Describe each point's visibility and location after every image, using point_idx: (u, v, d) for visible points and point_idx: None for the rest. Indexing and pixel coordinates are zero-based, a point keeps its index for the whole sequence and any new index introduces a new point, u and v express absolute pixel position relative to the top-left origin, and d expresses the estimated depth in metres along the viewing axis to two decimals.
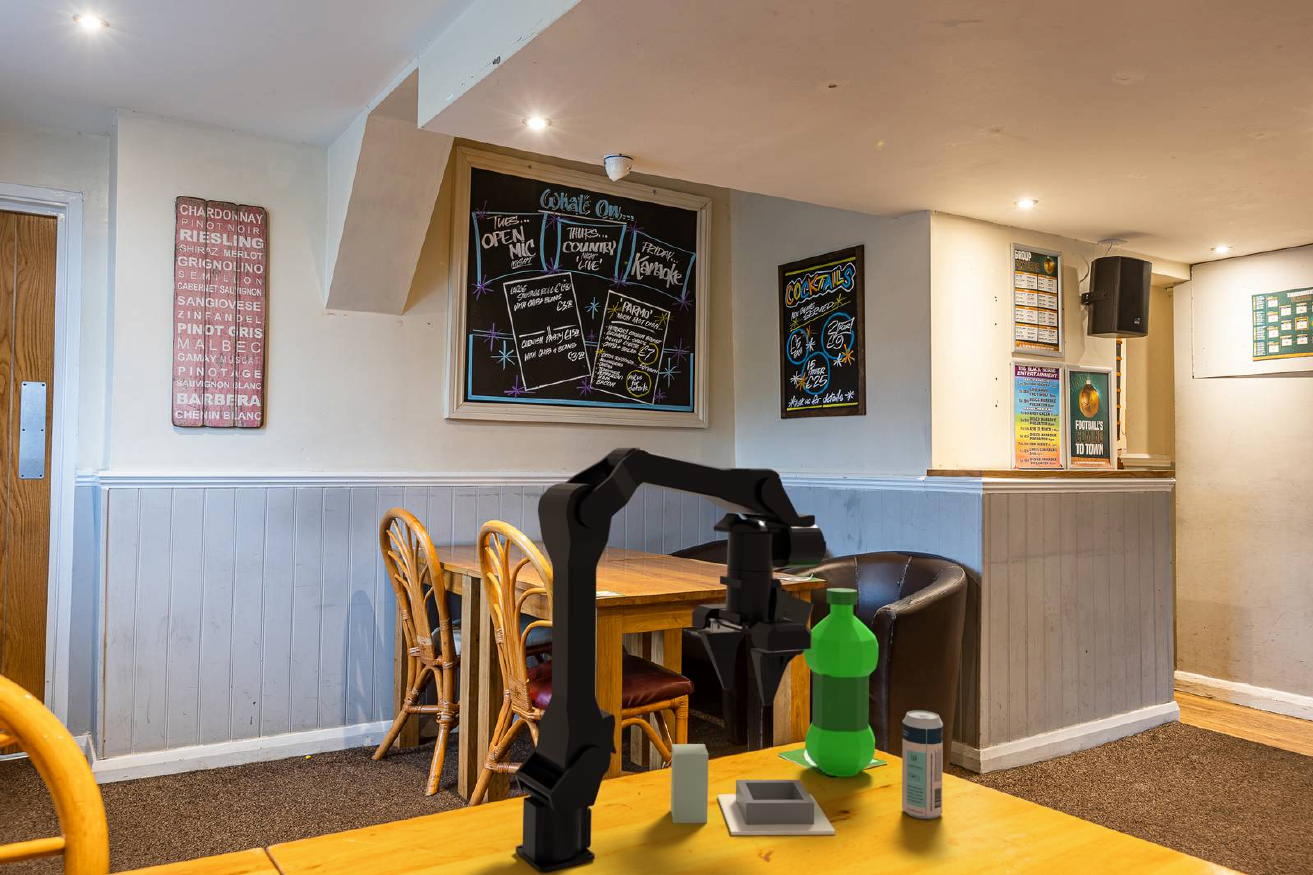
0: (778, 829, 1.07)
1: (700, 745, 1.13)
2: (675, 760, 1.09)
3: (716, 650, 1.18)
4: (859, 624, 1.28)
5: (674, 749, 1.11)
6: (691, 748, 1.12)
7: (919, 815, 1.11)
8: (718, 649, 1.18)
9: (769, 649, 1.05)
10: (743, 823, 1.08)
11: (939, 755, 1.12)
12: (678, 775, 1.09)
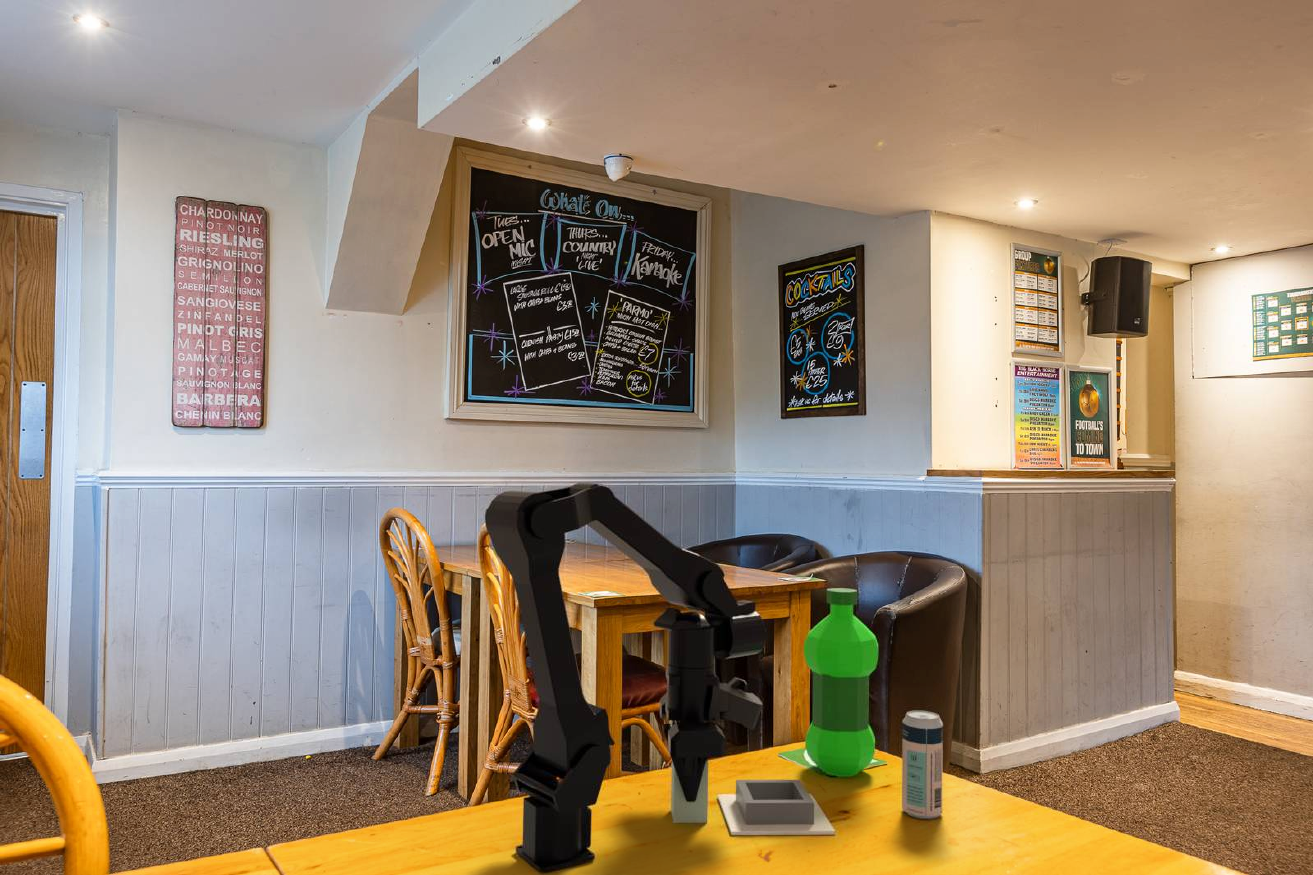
0: (778, 829, 1.07)
1: None
2: None
3: None
4: (859, 624, 1.28)
5: None
6: None
7: (919, 815, 1.11)
8: None
9: (672, 754, 1.03)
10: (743, 823, 1.08)
11: (939, 755, 1.12)
12: None
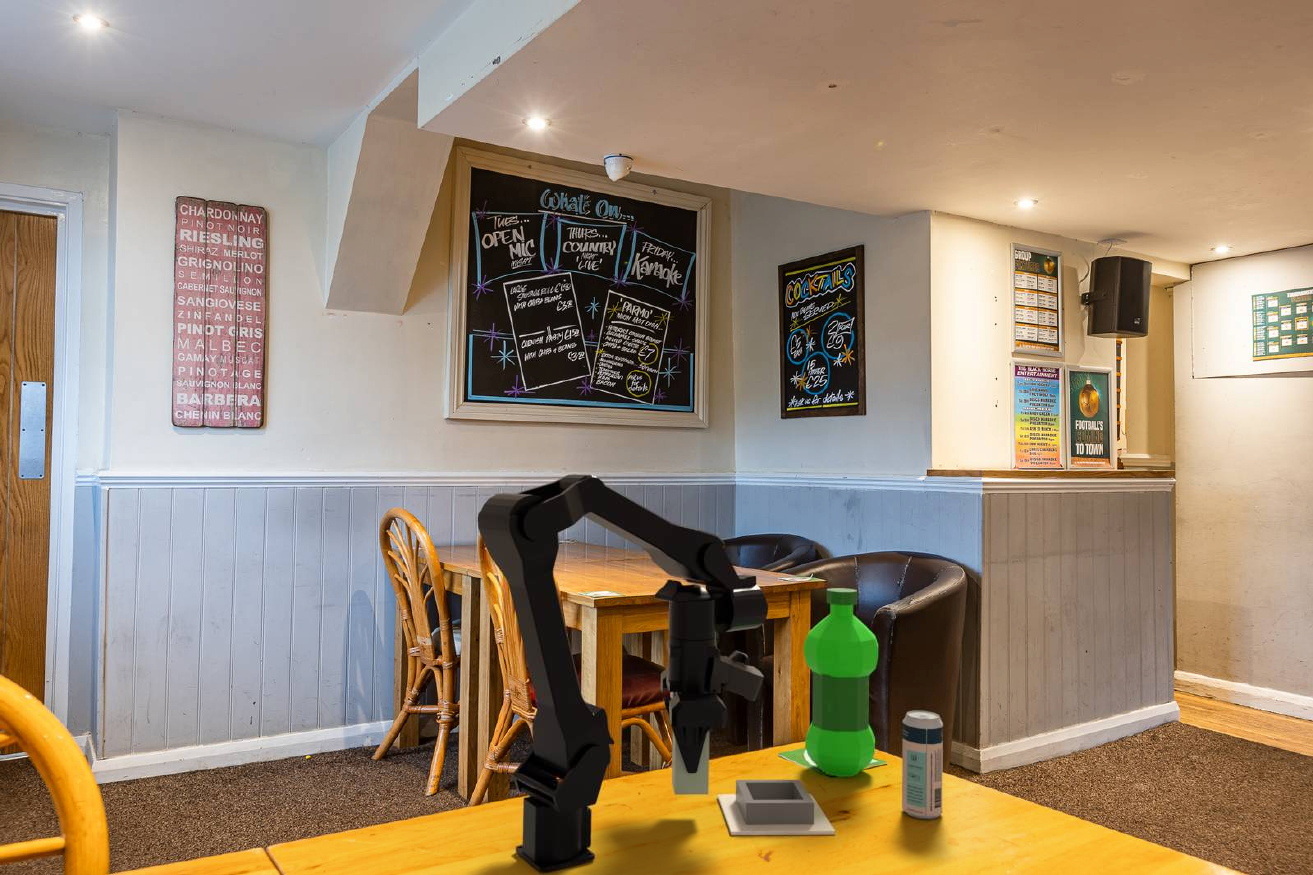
0: (778, 829, 1.07)
1: None
2: None
3: None
4: (859, 624, 1.28)
5: None
6: None
7: (919, 815, 1.11)
8: None
9: (673, 724, 1.03)
10: (743, 823, 1.08)
11: (939, 755, 1.12)
12: None
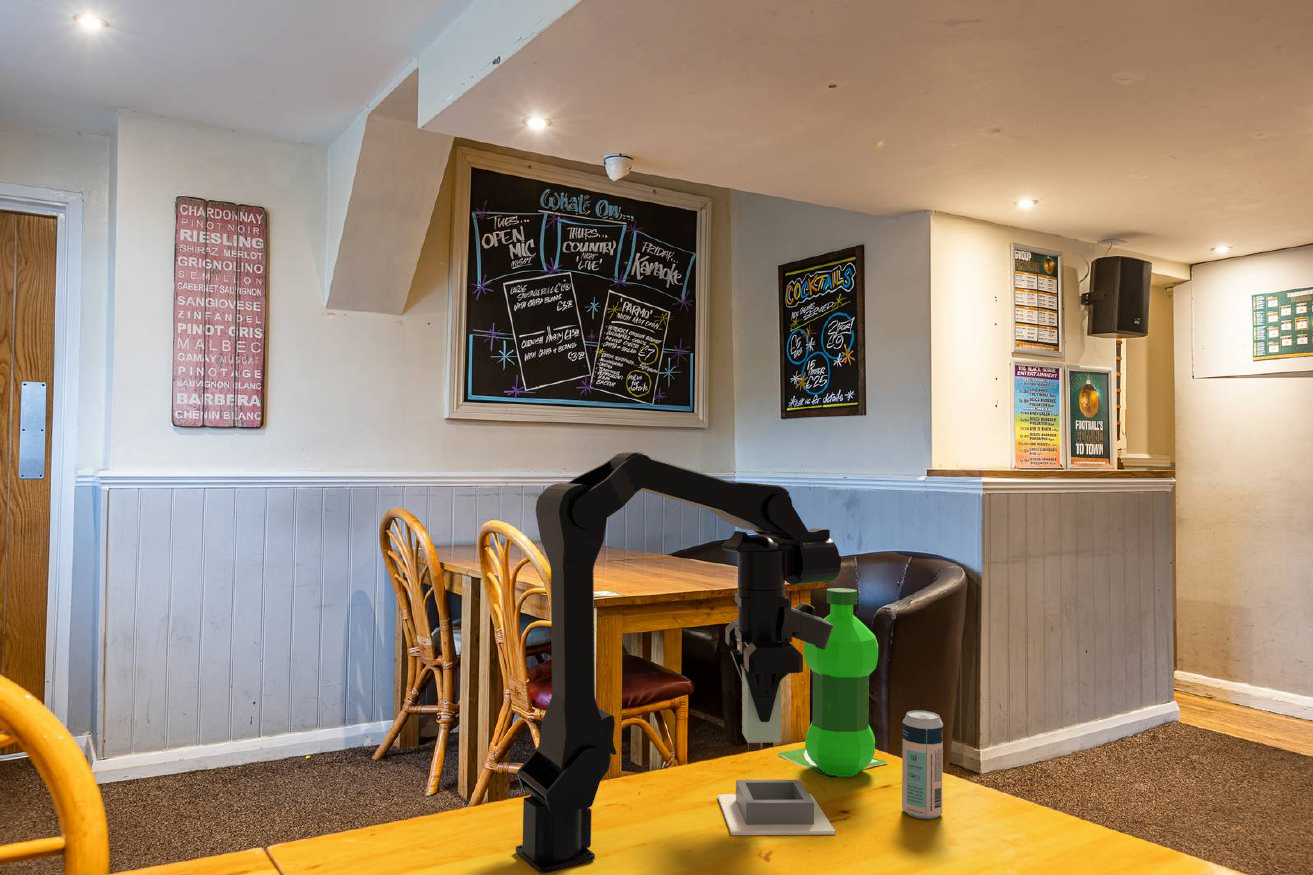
0: (778, 829, 1.07)
1: None
2: None
3: None
4: (859, 624, 1.28)
5: None
6: None
7: (919, 815, 1.11)
8: None
9: (750, 671, 1.04)
10: (743, 823, 1.08)
11: (939, 755, 1.12)
12: None
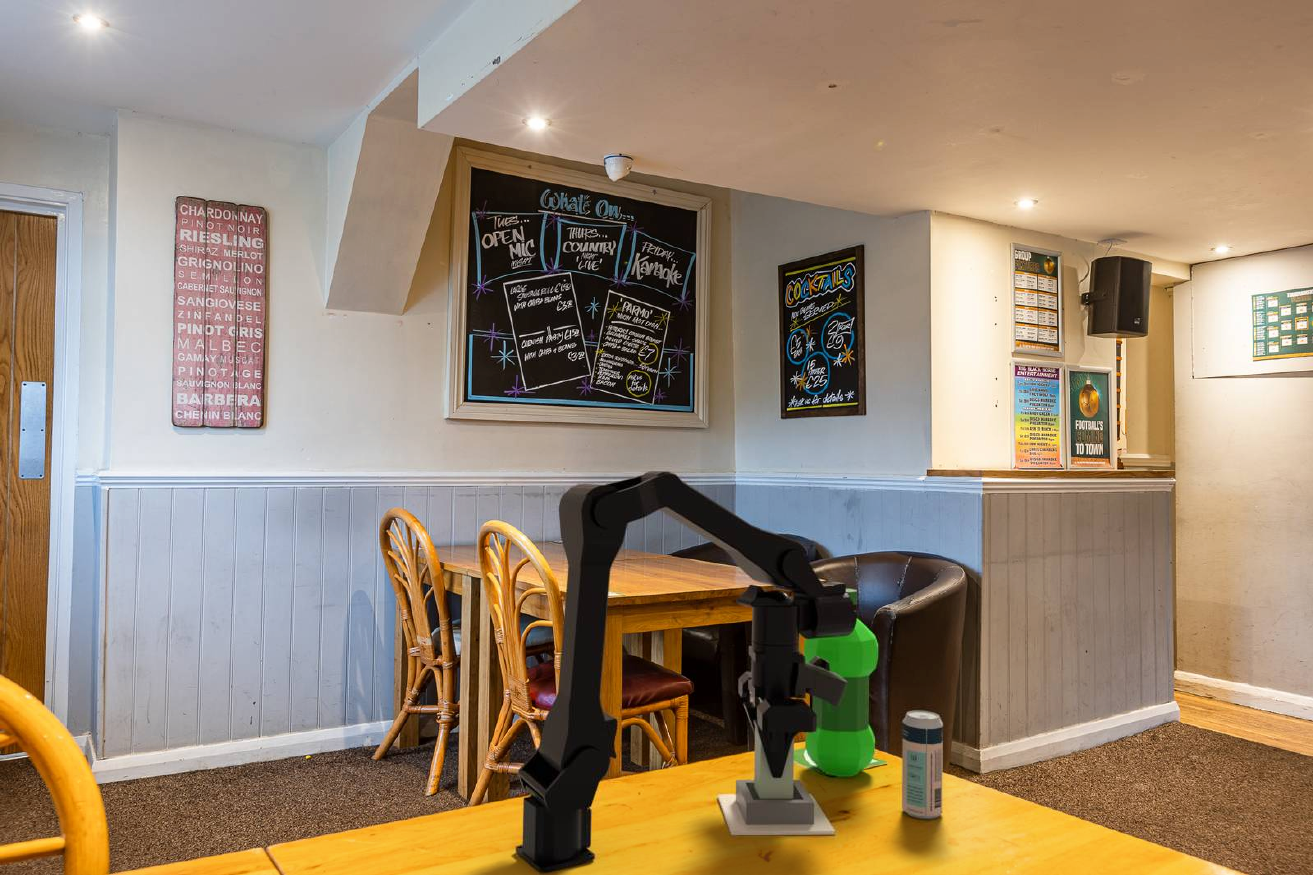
0: (778, 829, 1.07)
1: None
2: None
3: None
4: (859, 624, 1.28)
5: None
6: None
7: (919, 815, 1.11)
8: None
9: (763, 729, 1.03)
10: (743, 823, 1.08)
11: (939, 755, 1.12)
12: None
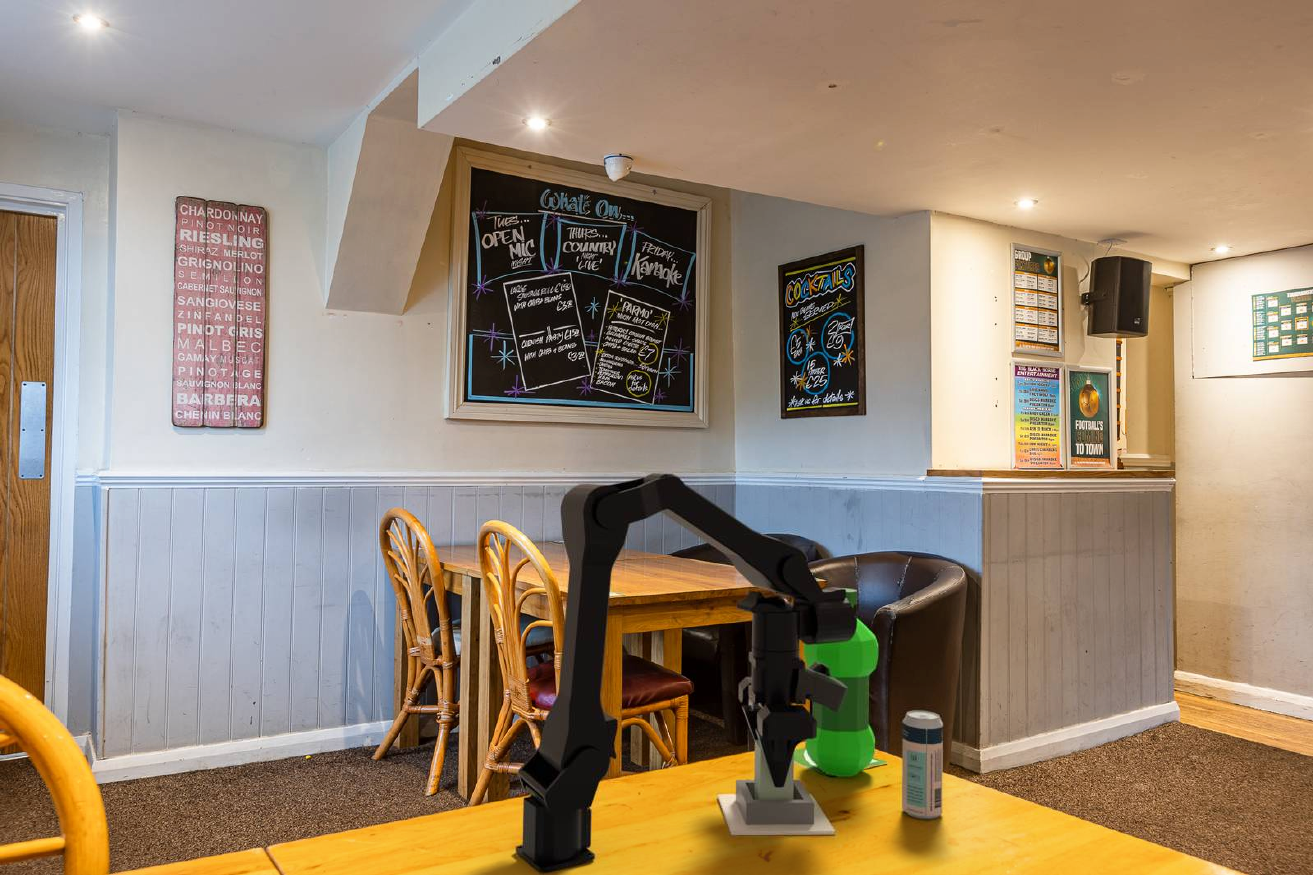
0: (778, 829, 1.07)
1: None
2: (761, 756, 1.10)
3: (756, 728, 1.16)
4: (859, 624, 1.28)
5: (759, 745, 1.12)
6: None
7: (919, 815, 1.11)
8: None
9: (764, 736, 1.03)
10: (743, 823, 1.08)
11: (939, 755, 1.12)
12: (764, 770, 1.10)
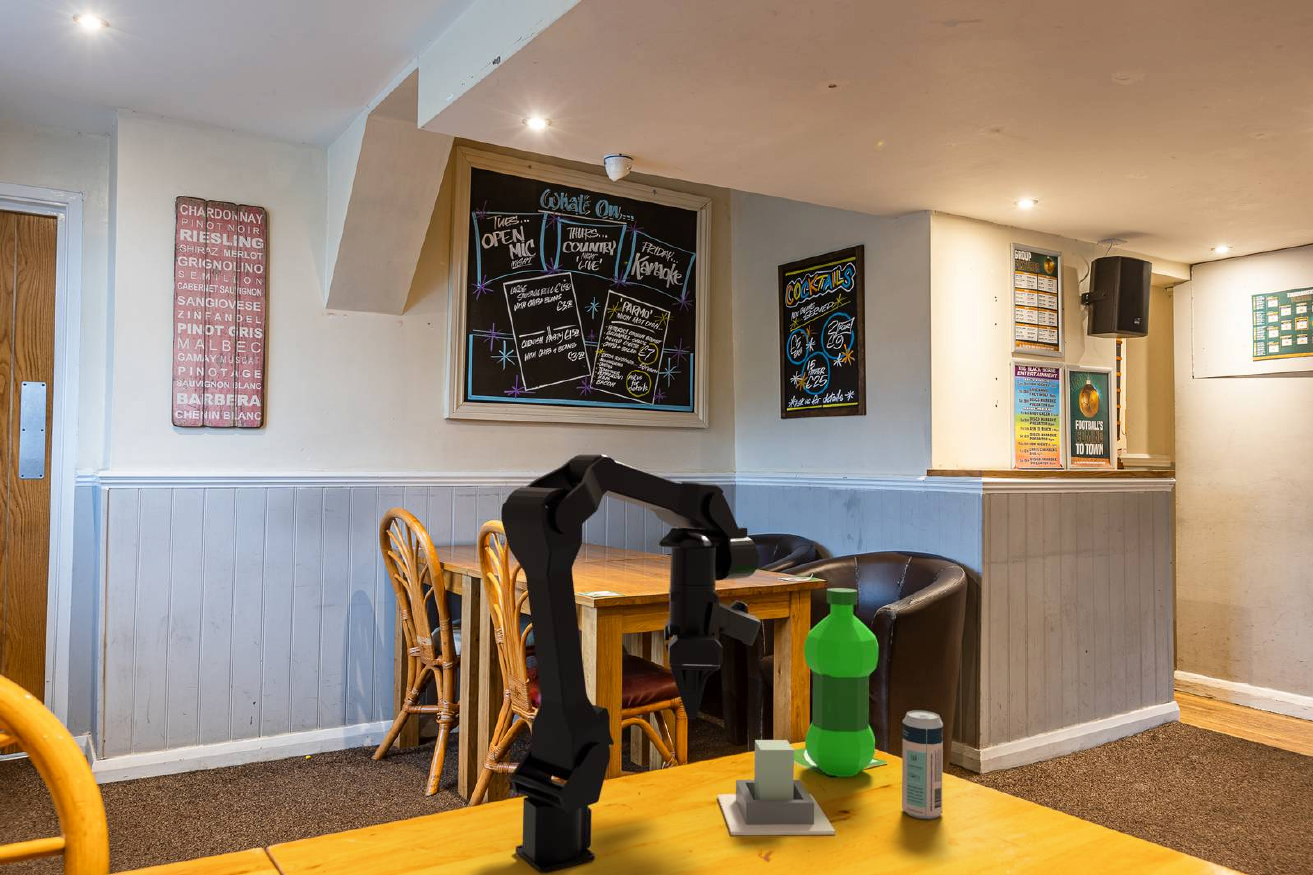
0: (778, 829, 1.07)
1: (783, 741, 1.14)
2: (761, 756, 1.10)
3: None
4: (859, 624, 1.28)
5: (759, 745, 1.12)
6: (775, 744, 1.13)
7: (919, 815, 1.11)
8: None
9: (670, 661, 1.07)
10: (743, 823, 1.08)
11: (939, 755, 1.12)
12: (764, 770, 1.10)
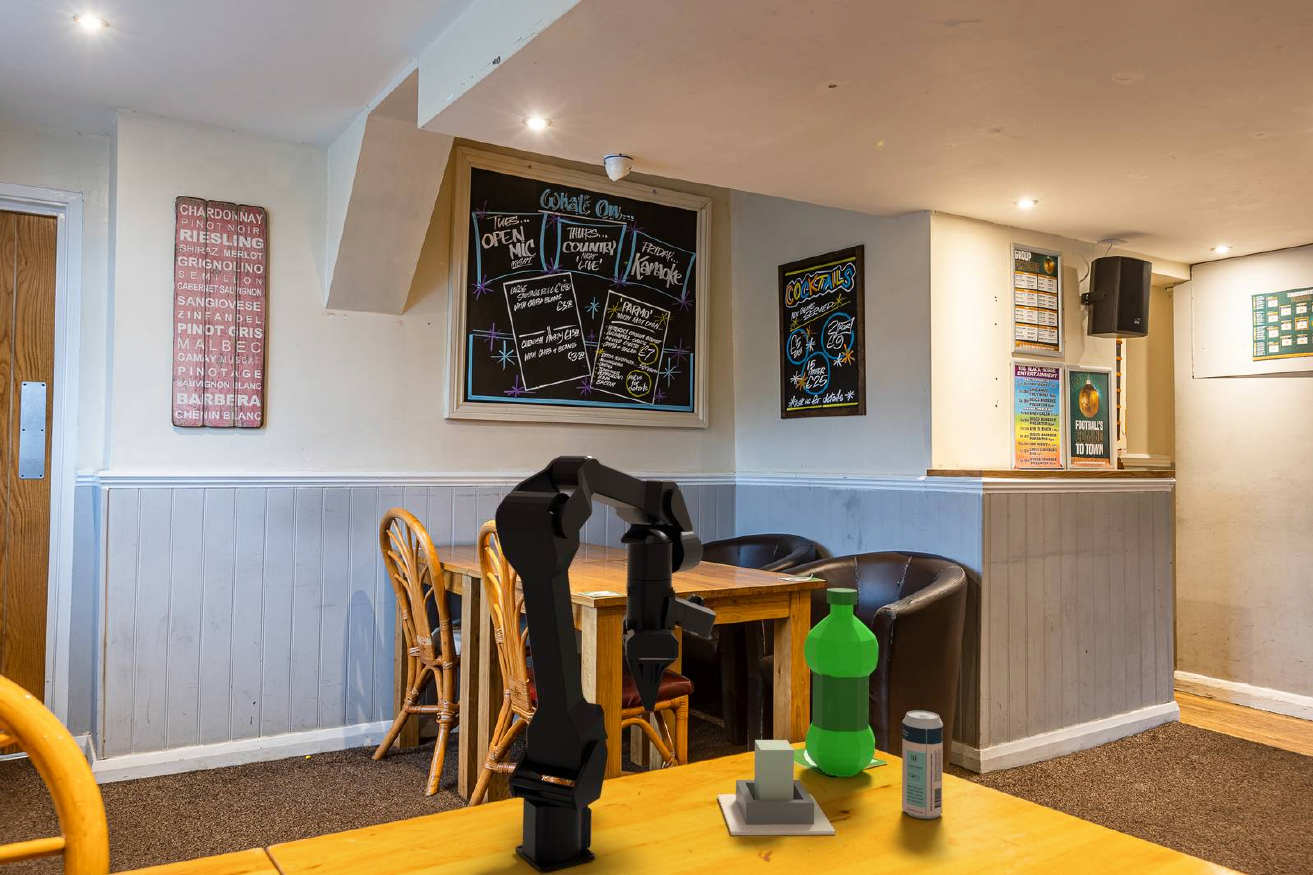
0: (778, 829, 1.07)
1: (783, 741, 1.14)
2: (761, 756, 1.10)
3: None
4: (859, 624, 1.28)
5: (759, 745, 1.12)
6: (775, 744, 1.13)
7: (919, 815, 1.11)
8: None
9: (627, 656, 1.09)
10: (743, 823, 1.08)
11: (939, 755, 1.12)
12: (764, 770, 1.10)
